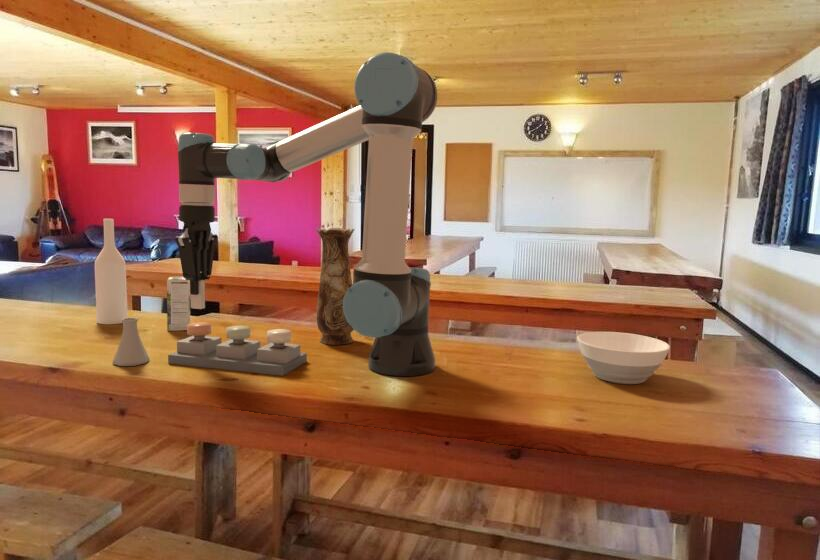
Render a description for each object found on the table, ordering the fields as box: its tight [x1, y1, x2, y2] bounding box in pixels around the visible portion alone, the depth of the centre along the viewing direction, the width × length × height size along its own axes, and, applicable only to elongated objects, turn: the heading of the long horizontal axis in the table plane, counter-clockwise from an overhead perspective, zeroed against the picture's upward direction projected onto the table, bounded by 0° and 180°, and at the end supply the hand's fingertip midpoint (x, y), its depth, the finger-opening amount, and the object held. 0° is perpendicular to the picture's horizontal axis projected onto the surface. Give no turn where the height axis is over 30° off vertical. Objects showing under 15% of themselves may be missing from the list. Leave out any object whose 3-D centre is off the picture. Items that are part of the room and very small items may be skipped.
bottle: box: [94, 218, 129, 325], centre depth 171 cm, size 8×8×30 cm
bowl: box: [576, 331, 671, 385], centre depth 131 cm, size 20×19×8 cm
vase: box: [315, 227, 355, 346], centre depth 155 cm, size 10×11×30 cm
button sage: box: [225, 325, 251, 346], centre depth 134 cm, size 5×5×4 cm
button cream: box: [266, 328, 292, 350], centre depth 131 cm, size 5×5×4 cm
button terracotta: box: [186, 321, 212, 342], centre depth 136 cm, size 5×5×4 cm
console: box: [167, 335, 308, 377], centre depth 134 cm, size 28×12×4 cm, turn 76°
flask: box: [112, 317, 151, 367], centre depth 131 cm, size 7×7×10 cm
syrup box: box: [166, 276, 191, 332], centre depth 165 cm, size 6×6×14 cm
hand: (197, 308), depth 135 cm, fingers closed
